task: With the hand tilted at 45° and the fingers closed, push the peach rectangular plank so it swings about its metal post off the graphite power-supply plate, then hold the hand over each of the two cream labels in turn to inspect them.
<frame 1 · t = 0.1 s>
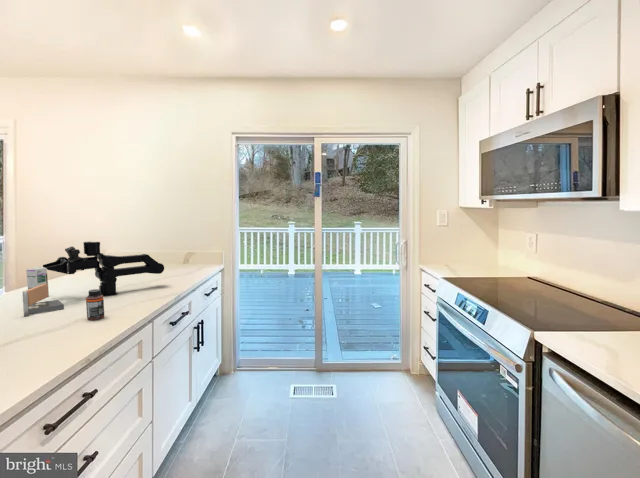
hand: (44, 267, 168), 17 cm above the countertop, tool horizontal, fingers open, 9 cm apart
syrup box: (38, 297, 180), on the countertop
peach rectangular plank: (37, 294, 157), point 7 cm above the countertop, hinge at -35.0°
supplement bottle: (95, 318, 148), on the countertop
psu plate: (44, 309, 160), on the countertop
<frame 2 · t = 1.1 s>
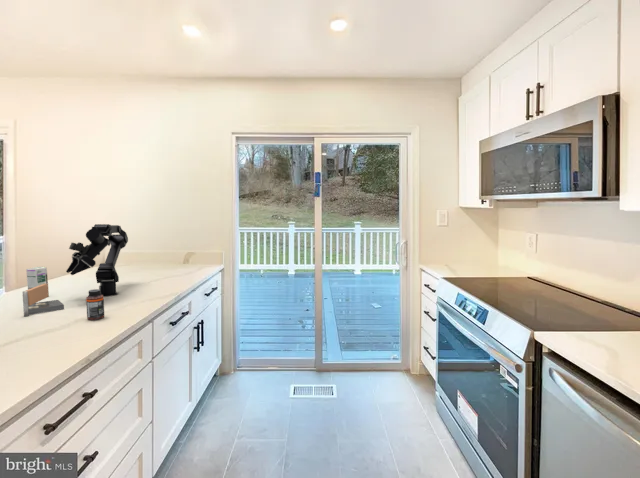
hand: (69, 273, 169), 14 cm above the countertop, tool tilted 45°, fingers open, 8 cm apart
nothing on the countertop moved.
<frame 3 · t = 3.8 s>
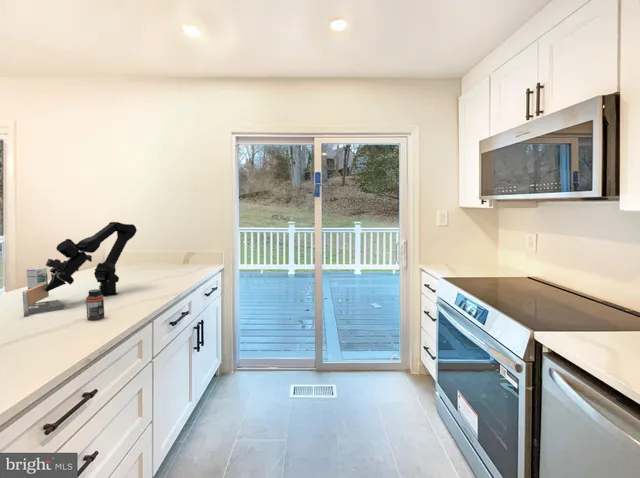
hand: (45, 290, 163), 7 cm above the countertop, tool tilted 45°, fingers closed
peach rectangular plank: (36, 294, 157), point 7 cm above the countertop, hinge at -32.6°, touching gripper
everything else where it was.
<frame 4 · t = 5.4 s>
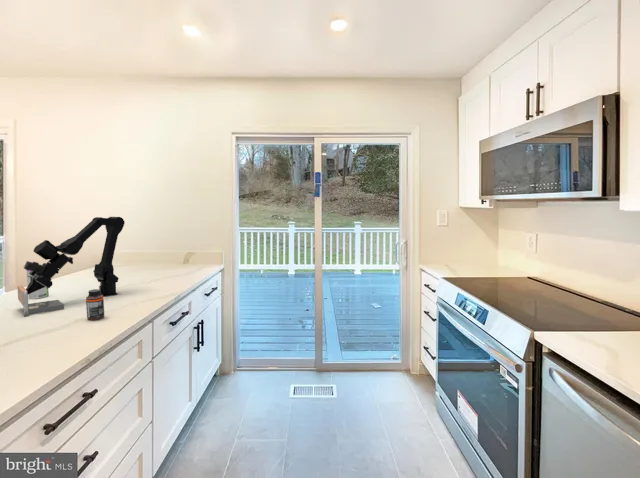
hand: (24, 294, 158), 7 cm above the countertop, tool tilted 45°, fingers closed, pressing on peach rectangular plank
peach rectangular plank: (22, 295, 155), point 7 cm above the countertop, hinge at -0.4°, touching gripper
everything else where it was.
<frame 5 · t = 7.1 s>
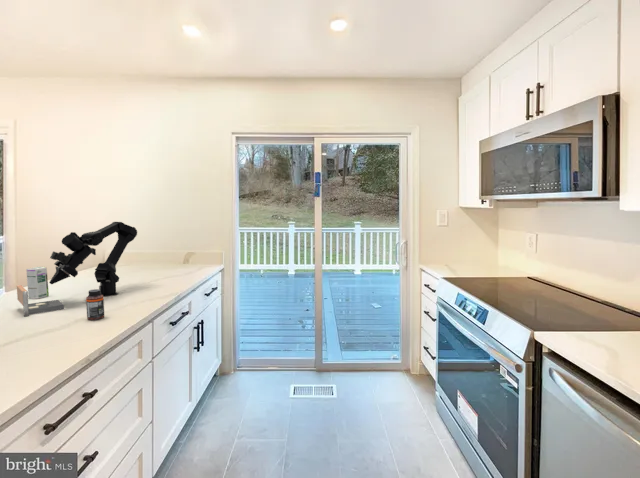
hand: (50, 283, 164), 10 cm above the countertop, tool tilted 45°, fingers closed
peach rectangular plank: (22, 295, 155), point 7 cm above the countertop, hinge at 0.3°
everything else where it was.
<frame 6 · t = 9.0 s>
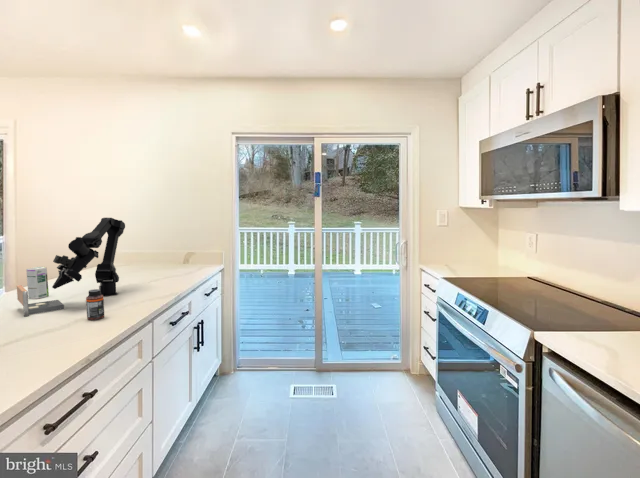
hand: (53, 288, 159), 9 cm above the countertop, tool tilted 45°, fingers closed
nothing on the countertop moved.
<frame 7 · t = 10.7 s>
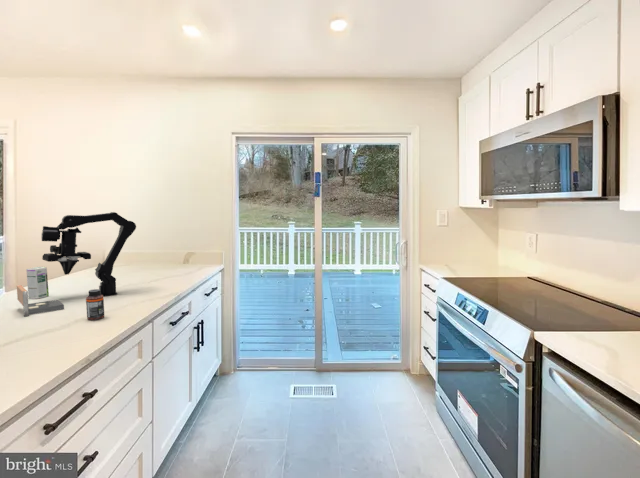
hand: (66, 274, 176), 12 cm above the countertop, tool pointing down, fingers closed
nothing on the countertop moved.
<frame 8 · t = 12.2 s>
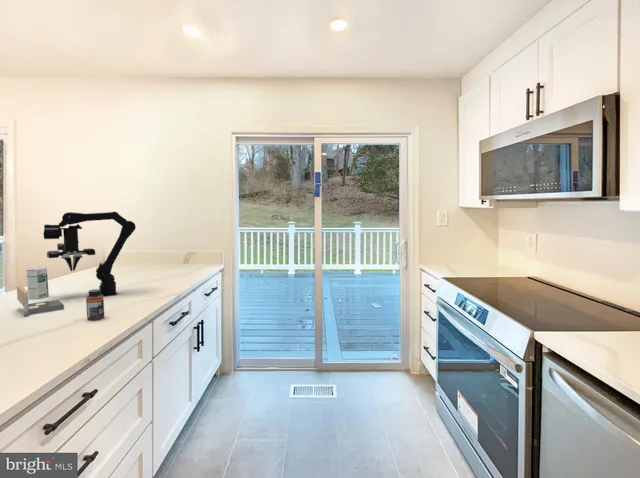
hand: (72, 270, 179), 13 cm above the countertop, tool pointing down, fingers closed
nothing on the countertop moved.
at the end: peach rectangular plank at +0° (first picture: -35°) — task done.
